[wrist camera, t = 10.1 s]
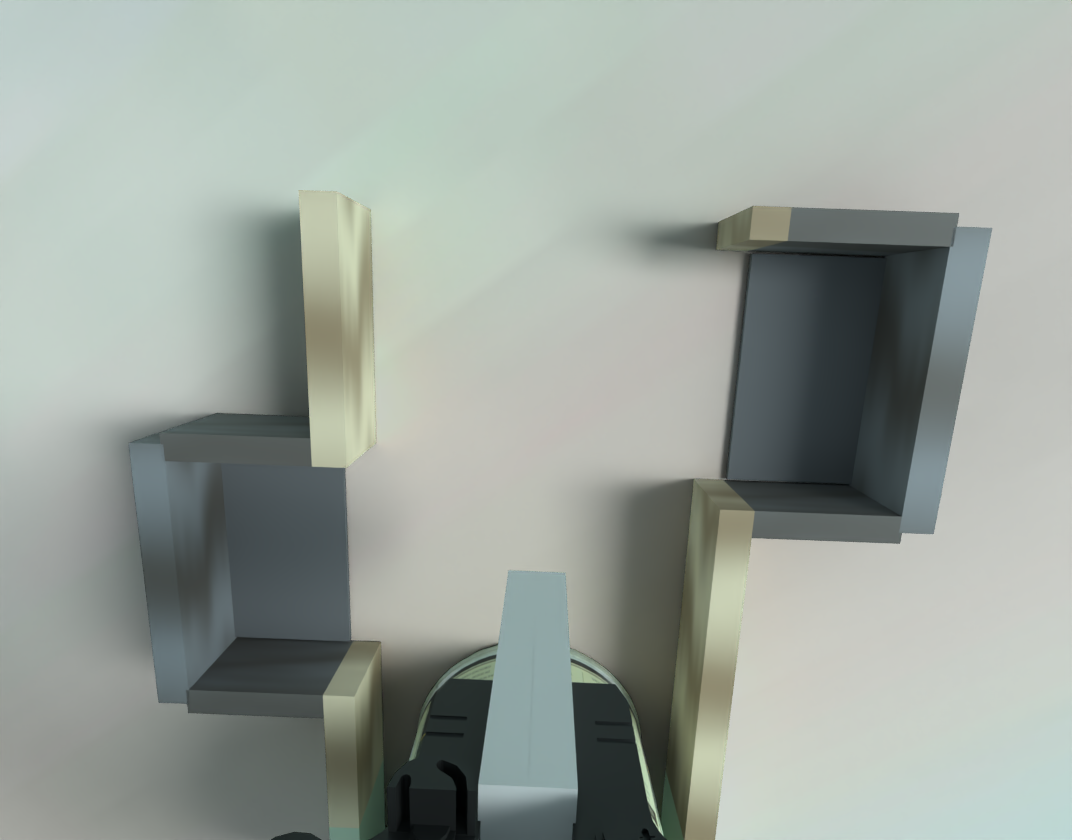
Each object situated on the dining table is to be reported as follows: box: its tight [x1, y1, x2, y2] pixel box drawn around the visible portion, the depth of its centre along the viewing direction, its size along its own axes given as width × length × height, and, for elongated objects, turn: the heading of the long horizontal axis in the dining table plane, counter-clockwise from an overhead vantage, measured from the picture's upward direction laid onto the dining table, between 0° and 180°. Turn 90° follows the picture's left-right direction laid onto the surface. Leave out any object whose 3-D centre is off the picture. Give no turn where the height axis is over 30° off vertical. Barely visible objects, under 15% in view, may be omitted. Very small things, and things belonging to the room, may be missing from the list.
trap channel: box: [129, 190, 992, 840], centre depth 22 cm, size 24×28×4 cm
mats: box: [221, 253, 887, 641], centre depth 23 cm, size 17×26×1 cm, turn 88°
